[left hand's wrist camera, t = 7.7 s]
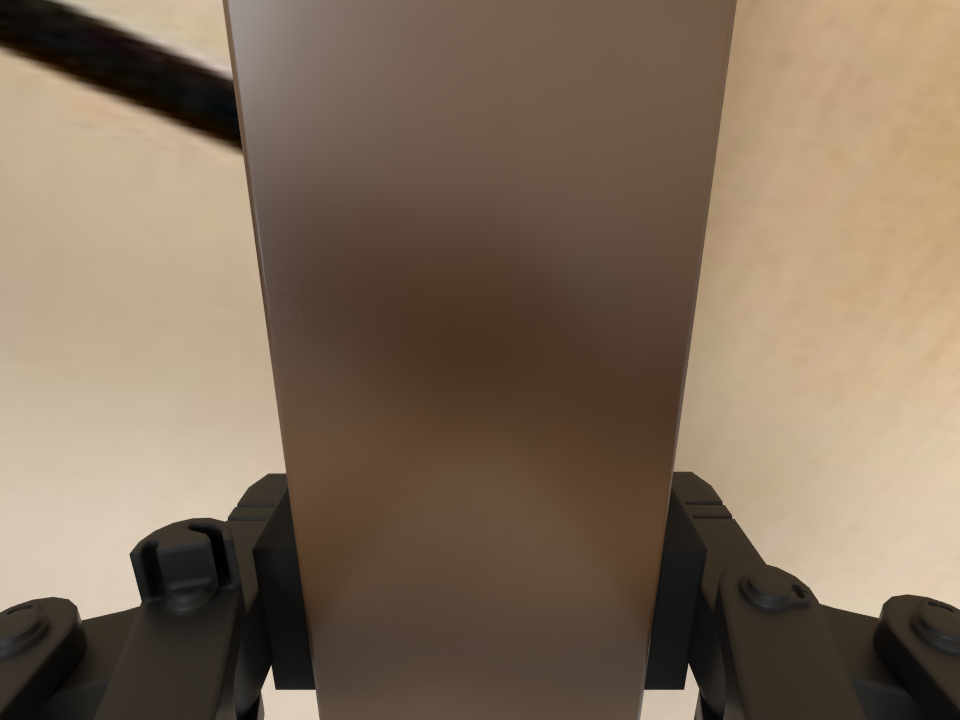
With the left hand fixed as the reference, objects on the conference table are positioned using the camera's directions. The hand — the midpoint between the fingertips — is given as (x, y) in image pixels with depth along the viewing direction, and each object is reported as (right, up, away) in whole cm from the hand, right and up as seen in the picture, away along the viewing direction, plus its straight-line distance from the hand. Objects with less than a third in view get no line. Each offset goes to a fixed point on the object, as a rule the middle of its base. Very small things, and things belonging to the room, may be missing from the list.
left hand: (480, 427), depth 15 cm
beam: (0, +31, -10) cm, 33 cm away
